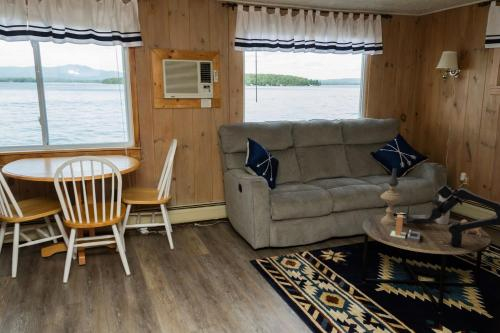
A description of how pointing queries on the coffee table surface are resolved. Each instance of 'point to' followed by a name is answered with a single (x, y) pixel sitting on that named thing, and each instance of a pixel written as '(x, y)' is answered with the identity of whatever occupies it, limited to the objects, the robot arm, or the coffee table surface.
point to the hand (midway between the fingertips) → (429, 219)
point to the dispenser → (412, 234)
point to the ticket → (399, 225)
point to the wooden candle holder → (391, 200)
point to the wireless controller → (417, 217)
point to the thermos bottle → (444, 218)
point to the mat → (397, 235)
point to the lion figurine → (473, 229)
